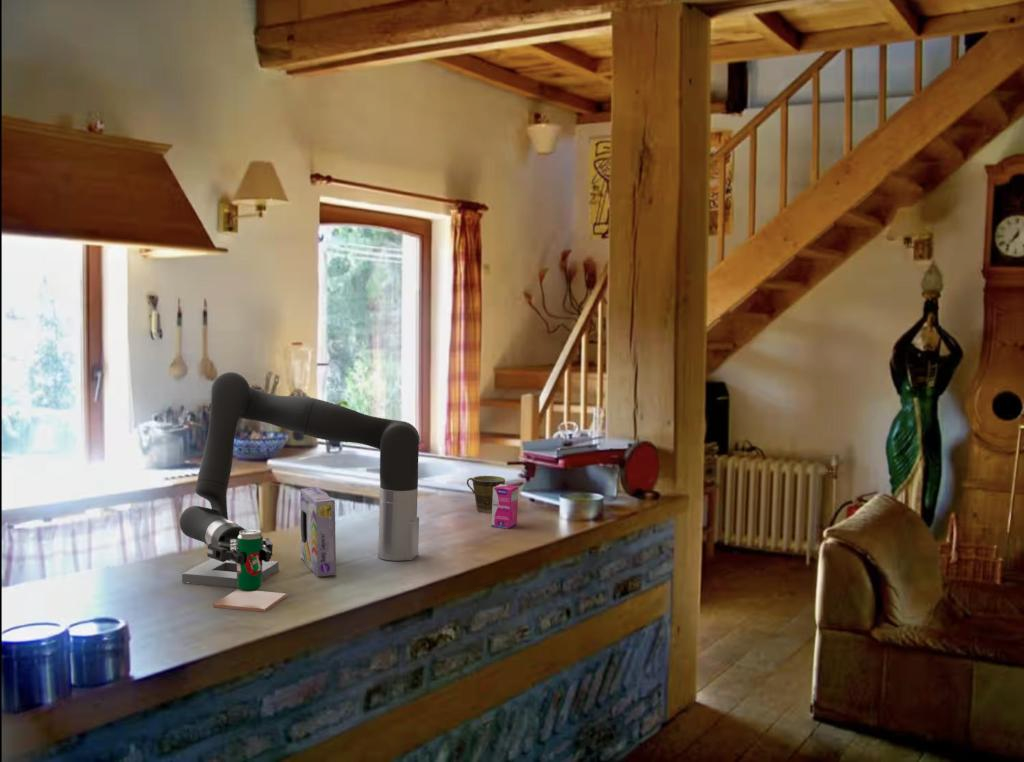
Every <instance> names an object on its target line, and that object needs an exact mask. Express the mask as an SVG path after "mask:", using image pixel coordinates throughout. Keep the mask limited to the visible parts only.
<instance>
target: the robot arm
mask: <svg viewBox="0 0 1024 762" xmlns="http://www.w3.org/2000/svg"><path fill="white" fill-rule="evenodd" d="M209 414H210V415H209V423H208V424H209V425H208V429H207V430H208V432H207V437H206V440H205V441H206V442H205V445H204V450H203V454H202V458H201V462H200V467H199V471H198V475H197V482H196V483H195V484H196V485H195V493H196V494H197V495H198V496H199V497H201V498H202V499H203V498H204V499H205V500H207V501H208V502H209V504H210V506H211V508H209V507H205V506H200V505H191V506H188V507H187V508H185V509H184V510H183V512H182V513H181V515H180V518H179V527H180V530H181V531H182V533H183V534H184V535H185V536H186V537H188V538H191V539H193V540H196V541H200V542H202V543H204V544H205V545H206V546H207V557H209V558H210V559H211V558H213V559H216V560H218V561H221V562H225V561H226V560H228V561H232V562H236V563H238V564H240V565H244V554H243V553H240V552H238V551H237V537H238V535H239V534H240V533H239V532H240V531H242V530H246V528H244V527H242V526H241V525H239V524H237V523H236V522H235V521H232V520H229V514H228V513H229V512H228V500H227V498H228V496H227V495H228V488H229V482H230V478H231V472H232V466H233V457H234V445H235V437H236V430H237V426H238V422H239V419H244V420H250V421H256V422H261V423H265V424H269V425H273V426H275V427H277V428H278V427H279V428H280V429H284V430H287V431H291V432H294V433H298V434H301V435H305V436H307V437H312V438H314V439H319V440H324V441H330V442H339V443H340V442H342V443H353V444H360V445H365V446H368V447H371V448H374V449H377V450H379V510H378V512H379V515H378V544H377V545H378V547H377V550H378V551H377V554H378V555H377V556H378V558H380V559H381V560H386V561H395V562H396V561H398V562H399V561H400V562H401V561H413V560H414V559H415V558H416V557H418V555H419V535H420V517H418V490H419V489H418V488H419V452H420V451H419V450H420V449H419V447H420V433H419V432H418V430H417V428H416V427H415V426H414V425H413V424H411V423H410V422H408V421H404V420H403V421H402V420H397V419H390V418H389V419H388V418H384V417H383V418H382V417H378V416H373V415H368V414H364V413H362V412H359V411H356V410H354V409H351V408H348V407H345V406H342V405H340V404H336V403H332V402H329V401H326V400H323V399H319V398H314V397H311V396H300V395H299V396H298V395H278V394H272V393H269V392H265V391H262V390H260V389H256V388H253V387H251V386H250V384H249V382H248V381H247V379H246V378H245V377H244V376H243V375H242V374H240V373H236V372H234V371H233V372H230V371H229V372H225V373H221V375H219V376H218V377H216V378H215V379H214V381H213V382H212V385H211V390H210V413H209ZM273 547H274V546H273V541H272V539H271V538H270V537H266V538H264V539H263V559H262V560H263V561H265V562H269V561H271V560H272V559H271V558H272V557H273Z"/></svg>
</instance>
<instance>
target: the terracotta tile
mask: <svg viewBox="0 0 1024 762" xmlns="http://www.w3.org/2000/svg"><path fill="white" fill-rule="evenodd" d="M287 596H288V595H287V593H284V592H275V591H273V592H272V591H265V590H264V591H262V590H256V591H251V592H245V591H241V590H239V589H238V588H237V589H236V590H234V591H232V592H230V593H229V594H228V595H226V596H224V597H223V598H221V599H219V600H218V601H216V602H214V603H213V606H212V607H213V608H220V609H222V608H223V609H229V610H230V609H231V610H241V611H250V612H251V611H252V612H260V613H265V612H267V611H268V610H269V609H270V608H273V607H274V606H276V605H277V604H278V603H280V602H281V601H282V600H284V599H285V598H286V597H287ZM283 598H284V599H283ZM280 600H281V601H280ZM277 602H278V603H277Z"/></svg>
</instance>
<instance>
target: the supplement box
mask: <svg viewBox="0 0 1024 762" xmlns="http://www.w3.org/2000/svg"><path fill="white" fill-rule="evenodd" d="M518 499H519V486H517V485H509V484H505V485H503V484H500V485H498V486H496V487H493V502H492V513H491V527H492V528H501V529H507V530H510V529H512V528H515V527H516V526H518V506H519V505H518V504H519V500H518Z"/></svg>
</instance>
